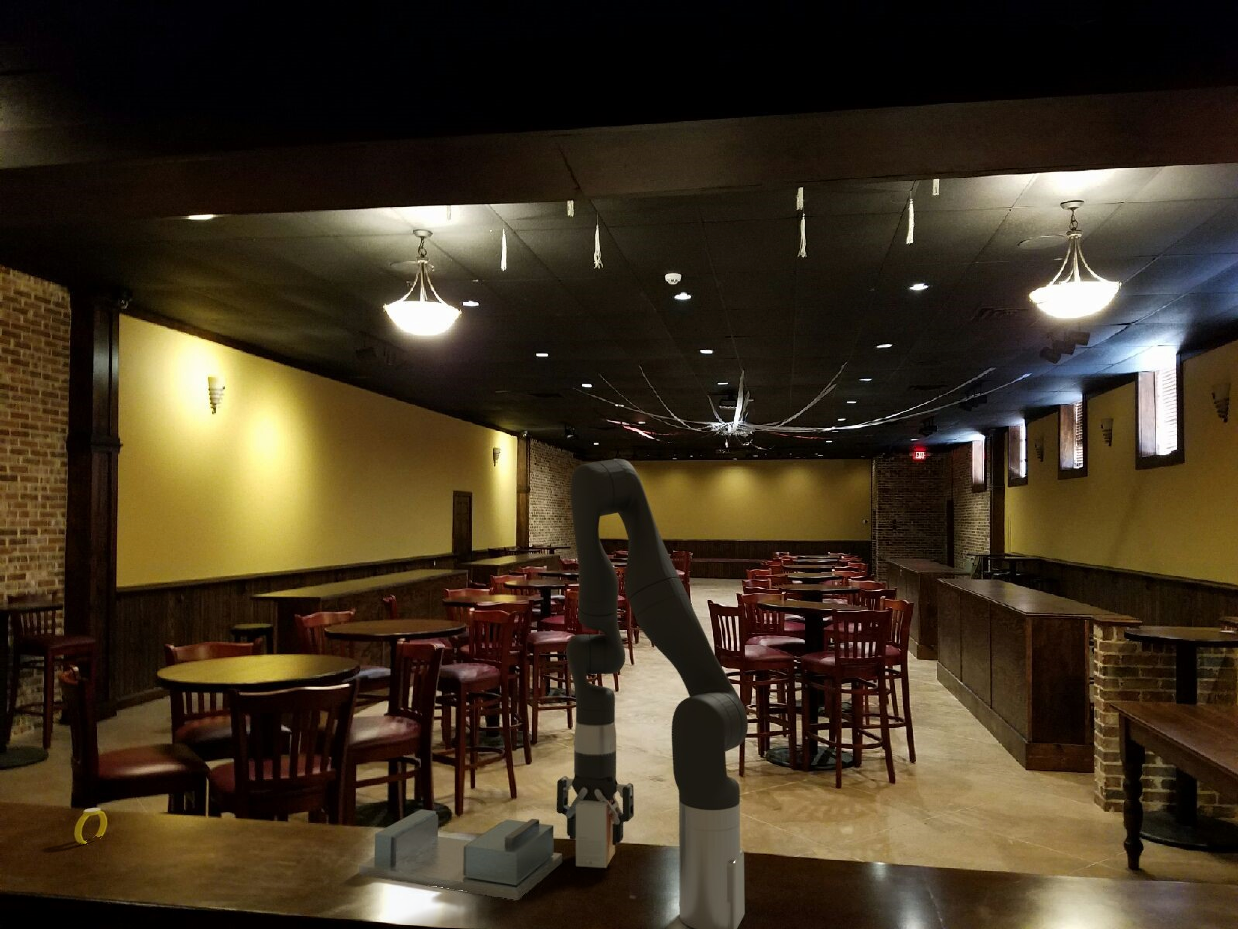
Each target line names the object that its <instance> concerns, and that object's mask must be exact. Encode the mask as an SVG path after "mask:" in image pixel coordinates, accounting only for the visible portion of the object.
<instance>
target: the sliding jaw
mask: <svg viewBox="0 0 1238 929" xmlns="http://www.w3.org/2000/svg"><path fill="white" fill-rule="evenodd" d="M470 841H471V842H470V843H468V844H467V845H465V846H464V854H463V875H464V876H466V877H468V878H474V879H481V880H487V881H493V882H500V883H506V884H512V885H517V884H518V883H520V882H521V881H522V880H523V879H525V878H526V877H527V876H528V875H529V874H531V873H532V872H533V871H534V870H535V869H537V868H538V867H539V866H540V865H542V864H543V863H544V862H545V861H546V860H548V859H549V858H550V857H551V856H552V855H553V853H554V824H553V825H552V824H546V823H540V819H538V818H531V819H529V820H528V821H523V820H515V819H508V818H507V819H505V820H503V821H500V822H499V823H497V824H496V825H494V826H493V827H491V828H489V829H488V830H487V831H485V832H484V833H482V834H481V835H478V837H475V839H473V840H470Z"/></svg>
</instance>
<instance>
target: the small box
mask: <svg viewBox="0 0 1238 929" xmlns="http://www.w3.org/2000/svg"><path fill="white" fill-rule="evenodd" d="M614 797H615V798H616V793H615V794H614ZM609 803H610V804H611V805H612V799H611V800H610V801H609ZM613 823H614V822H613V820H612V819H611V817H610V815H609V810H608V804H606V803H601V802H600V801H589V800H583V801H579V803H578V804H577V805H576V839H575V866H576V867H582V868H583V867H586V868H598V869H607V868H608V865H609V863H610V862H611V860H612V858H613V856H614V855H615V853H616V846H615V845H613V844H612V824H613Z"/></svg>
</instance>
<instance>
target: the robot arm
mask: <svg viewBox="0 0 1238 929" xmlns="http://www.w3.org/2000/svg"><path fill="white" fill-rule="evenodd" d="M569 489H570V491H569V493H570V494H569V496H570V506H571V515H572V516H571V517H572V523H573V524H572V525H573V533H574V540H575V547H576V554H577V564H578V596H577V597H578V598H577V599H578V601H577V602H578V603H577V605H578V607H577V618H578V622H579V624H580V625H581V626H583V627H585V628H588V629H592V630H596V631H600V632H602V633H603V634H576V635H574V636H572V637H571V638H570V640H568V642H567V645H566V651H565V653H566V659H567V660H566V661H567V664H568V668H569V670H570V674H571V678H572V682H573V688H574V692H575V727H574V728H575V729H574V735H573V736H574V737H573V739H574V740H573V747H574V749H573V754H574V757H573V774H574V777H573V778H569V777H568V776H565V775H564V776H563V777H561V778H560V779H558V781H556V782H557V783H556V784H557V785H556V812H557V813H558V814H562V815H563V816H565V817H566V834H567V836H568V837H569V840H571V841H576V805H577V804H578V803H579V801H583V800H589V801H600V802H601V803H606V804H608V810H609V815H610V817H611V819H612V820H613V822H614V823H613V824H612V844H613V845H615V847H617V846H619V844H620V843H621V841H623V840H624V823H627V822H629V821H630V820H631V819H632V818H634V816H635V808H634V807H635V806H634V804H635V801H634V800H635V799H634V795H635V794H634V792H635V791H634V784H633V783H632V782H628V783H627V784H622V783H620V784H619V783H618V780H617V730H616V729H617V728H616V712H615V711H616V696H615V691H614V690H613V689H611V688H610V687H606V686H601V685H597V684H593V683H592V682H590V681H588V678H587V675H613V674H614V675H615V674H617V673H618V672H620V671H621V670H622V669H623V667H624V665H625V661H626V651H625V647H624V643H623V639H622V635H621V632H620V628H619V619H618V610H619V609H618V607H619V606H618V604H619V588H620V587H619V579H618V575H617V571H616V568H615V567H614V565H613V563H612V561H611V560H610V558H609V556H608V555H607V553H606V551H605V550H604V548H603V544H602V542H601V540H600V538H601V537H600V532H599V531H600V530H599V529H600V518H601V517H604V516H608V515H614V514H618V515H619V517H620V519H621V522H622V523H623V526H624V528H625V532H626V535H627V540H628V551H627V560H626V565H625V572H624V581H623V582H624V585H623V587H624V593H625V596H626V599H627V602H628V604H629V607H630V608H631V611H632V613H633V615H634V617H635V618H634V619H635V620H636V622H637V624H638V626H639V628H640V630H641V631H642V632H643V634H644V635H645V636H646V637H647V639H648V640H649V641H650V643H652V645H654V647H656V649H657V650H658V651H659V652H660V653H662V655H664V657H665V658H666V659H667V660H668V661H669V662H670V663H671V664H672V666H673V667H674V668H675V669H676V671H677V673H678V675H679V676H680V678H681V681H682V682H683V685H684V686H685V689H686V692H687V694H688V695H689V697H686V698H685V699H683V700H681V701H680V702H679V703H678V704H677V706H676V707H675V710H674V712H673V716H672V720H671V752H672V769H673V770H672V771H673V777H674V778H673V779H674V782H675V785H676V786H677V790H678V849H679V850H678V852H679V854H678V860H679V861H678V865H679V866H678V868H679V869H678V871H679V872H678V874H679V876H678V877H679V879H678V880H679V883H678V884H679V885H678V886H679V889H678V891H679V895H678V896H679V900H678V906H679V919H680V921H681V922H682V923H683V924H685V925H686V926H688V927H689V928H692V929H738V928H739V926H740V924H741V923H742V922H741V921H742V920H743V918H744V916H745V851H744V849H741V789H740V784H739V783H738V781H737V780H736V779H735V778H733V777H732V776H728V774H727V773H728V770H727V761H726V760H727V758H726V752H728V751H730V750H731V751H732V750H733V749H736V748H737V747H738V746H740V745H741V744H743V742H744V741H745V739H746V737H747V734H748V731H749V730H748V729H749V720H748V716H747V715H748V714H747V712H746V709H745V706H744V704H743V702H742V699H741V697H740V696H739V694H738V693H737V691H736V689H735V687H734V686H733V684H732V682H731V681H730V679H729V677H728V676H727V674H726V672H725V670H724V668H723V667H722V665H721V663H720V661H719V660H718V658H717V656H716V654H715V652H714V650H713V648H712V646H711V644H710V641H709V639H708V638H707V636H706V633H705V631H704V629H703V627H702V625H701V623H700V622H701V621H700V620H699V618H698V616H697V615H696V612H695V609H694V608H693V605H692V603H691V600H690V597H689V595H688V593H687V591H686V589H685V586H684V584H683V582H682V580H681V577H680V576H679V573H678V572H677V570H676V568H675V566H674V563H673V561H672V559H671V557H670V555H669V553H668V550H667V548H666V545H665V543H664V541H663V538H662V536H661V534H660V531H659V529H658V527H657V524H656V521H655V518H654V515H653V513H652V512H653V511H652V509H651V506H650V503H649V500H648V497H647V495H646V491H645V489H644V486H643V483H642V481H641V479H640V476H639V475H638V472H637V470H636V468H635V467H634V466H633V465H632V464H631V462H629V461H628V460H626V459H621V458H616V459H615V458H613V459H608V460H607V459H606V460H601V461H594V462H588V463H584V464H581V465H579V466H577V467H576V468H575V469H574V471H573V472H572V475H571V478H570V488H569ZM571 789H572V790H574V792H575V793H576V796H575V798H574V800H573V801H572V803H571V804H570V805H569V791H570V790H571ZM617 792H618V793H619V796H620V797H621V799H622V810H621V808H620V805H619V801H618V800H617V798H616V796H615V797H614V794H615V795H616V793H617ZM611 799H612V805H611V804H610V803H609V801H610V800H611Z"/></svg>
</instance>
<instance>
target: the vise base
mask: <svg viewBox="0 0 1238 929" xmlns="http://www.w3.org/2000/svg"><path fill="white" fill-rule="evenodd" d="M471 841H472V840H467V839H458V838H452V837H444V836H439V814H437V811H436V810H428V809H418V810H417V811H414V813H411V814H410V815H408V816H406V817H403V818H402V819H401V820H398V821H396V822H394V823H393V824H391V825H389V826H387V827H385V828H384V829H381V830H380V831H379V830H378V832H376V833H374V856H373V857H372V858H370V859H368V860H366V861H364V862H362V863H361V864H359V865H358V875H359V876H364V877H365V876H366V877H370V876H373V877H372V878H376V879H377V878H378V879H384V880H388V879H390V881H394V880H396V882H402V883H408V884H414V885H419V886H420V885H421V886H425V887H431V886H437V887H443V888H449V889H454V890H453V891H455V890H463V891H467V892H470V893H469V894H473V893H477V894H476V895H479V894H482V896H485V895H487V896H486V897H491V896H492V898H497V897H502V898H501V899H504V898H507V899H506V900H510V899H513V900H512V901H516V900H518V901H520V900H521V898H523V897H524V896H525V895H526V894H527V893H528V892H530V891H531V890H532V889H533V888H534V887H536V886H537V885H538V884H539V883H540V882H541V881H542V880H544V879H545V878H546V877H547V876H548V875H549V874H550V873H552V872H553V871H555V869H556V868H557V867H558V866H560V865H561V864H563V853H558V852H553V855H552V856H551V857H550V858H549V859H548V860H546V861H545V862H544V863H543V864H542V865H540V866H539V867H538V868H537V869H535V870H534V871H533V872H532V873H531V874H529V875H528V876H527V877H526V878H525V879H523V880H522V881H521V882H520V883H518V884H517V885H512V884H506V883H500V882H493V881H487V880H481V879H474V878H468V877H466V876H464V875H463V854H464V846H465V845H467V844H468V843H470V842H471ZM537 883H538V884H537ZM437 887H436V888H437ZM443 888H442V889H443ZM449 889H448V890H449ZM529 890H530V891H529ZM467 892H466V893H467ZM525 893H526V894H525ZM524 894H525V895H524ZM523 895H524V896H523ZM522 896H523V897H522ZM520 897H521V898H520Z"/></svg>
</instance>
